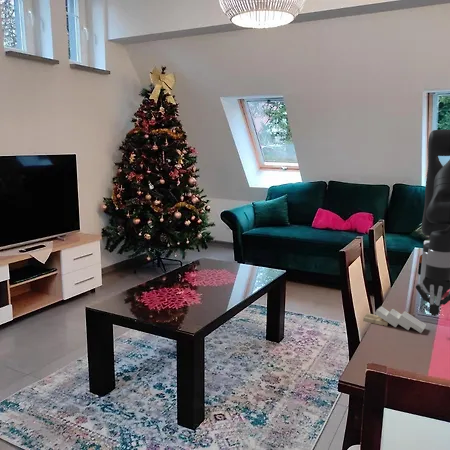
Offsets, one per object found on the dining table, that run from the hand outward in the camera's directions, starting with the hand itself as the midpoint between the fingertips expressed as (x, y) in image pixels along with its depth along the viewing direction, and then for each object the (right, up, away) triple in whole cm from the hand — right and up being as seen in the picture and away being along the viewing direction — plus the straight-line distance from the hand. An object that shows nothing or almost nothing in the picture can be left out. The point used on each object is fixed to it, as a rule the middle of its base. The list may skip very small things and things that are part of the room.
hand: (433, 314), depth 148 cm
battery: (+29, +6, +73) cm, 79 cm away
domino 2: (-9, -4, +6) cm, 12 cm away
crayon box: (+43, +10, +99) cm, 109 cm away
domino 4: (-2, -5, +2) cm, 6 cm away
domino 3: (-6, -5, +4) cm, 8 cm away
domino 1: (-12, -4, +7) cm, 15 cm away
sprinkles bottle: (+36, +8, +86) cm, 94 cm away
